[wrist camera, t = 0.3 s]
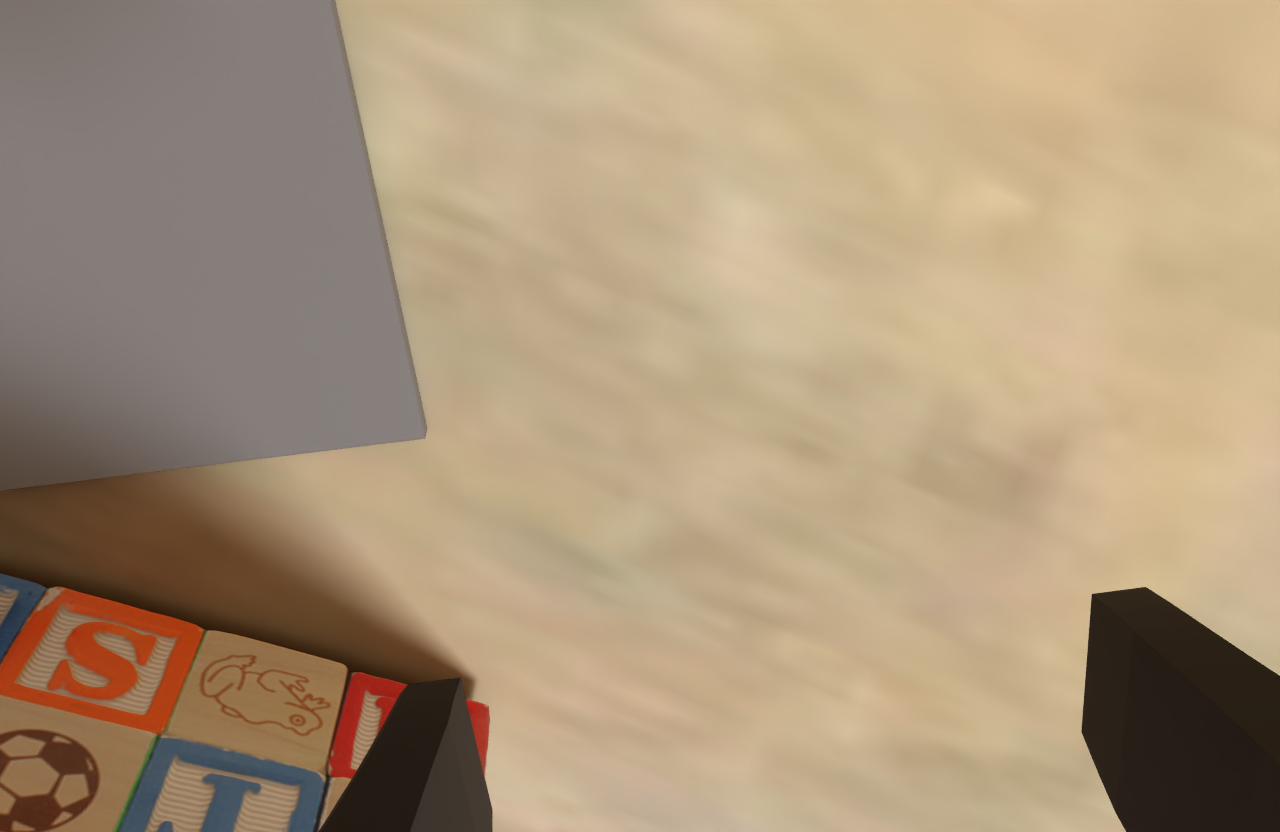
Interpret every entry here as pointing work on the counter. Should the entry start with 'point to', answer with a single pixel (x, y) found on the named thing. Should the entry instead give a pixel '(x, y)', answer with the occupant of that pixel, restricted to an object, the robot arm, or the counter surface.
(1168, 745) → the robot arm
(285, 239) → the mat
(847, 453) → the counter surface
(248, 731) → the stack of blocks
